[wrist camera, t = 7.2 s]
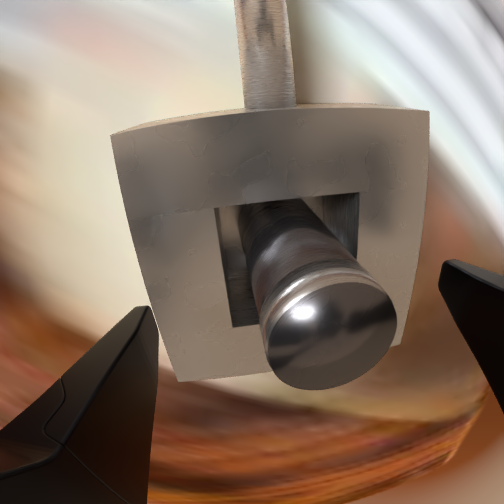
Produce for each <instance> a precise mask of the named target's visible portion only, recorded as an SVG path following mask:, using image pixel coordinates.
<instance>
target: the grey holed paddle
mask: <svg viewBox="0 0 504 504" xmlns="http://www.w3.org/2000/svg"><path fill="white" fill-rule="evenodd" d="M234 8H235V17H236V26H237V36H238V46H239V55H240V65H241V75H242V84H243V94H244V104H245V108H243V109H233V110H224V111H216V112H209V113H201V114H194V115H188V116H182V117H175V118H170V119H164V120H159V121H153V122H148V123H143V124H140V125H137V126H134V127H131V128H129V129H126V130H123V131H120V132H117V133H115V134H112V135H110V136H111V142H112V148H113V153H114V159H115V164H116V169H117V174H118V179H119V184H120V189H121V193H122V198H123V202H124V207H125V211H126V215H127V219H128V223H129V227H130V231H131V235H132V239H133V243H134V247H135V251H136V254H137V258H138V262H139V265H140V269H141V272H142V276H143V279H144V283H145V286H146V289H147V293H148V296H149V299H150V302H151V306H152V309H153V312H154V315H155V318H156V321H157V324H158V327H159V330H160V333H161V336H162V339H163V342H164V345H165V347H166V350H167V353H168V356H169V359H170V361H171V364H172V367H173V369H174V372H175V375H176V377H177V380H178V382H183V381H195V380H206V379H216V378H225V377H233V376H241V375H249V374H256V373H263V372H270V371H273V370H272V369H271V367H270V366H269V363H268V361H267V358H266V354H265V349H264V345H263V341H262V337H261V332H260V327H259V316H258V311H257V307H256V303H255V299H254V295H253V290H252V286H251V282H250V278H249V273H248V269H247V265H246V261H245V256H244V252H243V248H242V244H241V239H240V235H239V231H238V216H239V212H240V210H241V208H242V206H243V204H249V203H257V202H266V201H275V200H284V199H293V198H301V199H302V200H303V201H304V202H305V203H306V204H307V205H308V206H309V207H310V208H311V209H312V210H313V212H314V213H315V214H316V215H317V216H318V217H319V218H320V219H321V220H322V221H323V223H324V224H325V225H326V226H327V227H328V228H329V229H330V230H331V232H332V233H333V234H334V235H335V236H336V237H337V238H338V239H339V241H340V242H341V243H342V244H343V245H344V246H345V247H346V249H347V250H348V251H349V252H350V253H351V254H352V256H353V257H354V258H355V259H356V260H357V261H358V263H359V264H360V265H361V266H362V267H364V268H365V269H366V270H367V271H368V272H369V273H370V274H371V275H372V276H373V277H374V279H375V280H376V281H377V282H378V283H379V285H380V286H381V287H382V288H383V289H384V291H385V292H386V293H387V294H388V295H389V297H390V299H391V300H392V302H393V305H394V308H395V311H396V315H397V329H396V333H395V337H394V339H393V342H392V344H391V346H390V347H392V346H395V345H399V344H400V343H401V339H402V335H403V331H404V327H405V323H406V319H407V314H408V310H409V305H410V301H411V296H412V291H413V286H414V281H415V275H416V269H417V264H418V257H419V251H420V244H421V237H422V230H423V221H424V213H425V203H426V192H427V179H428V161H429V111H425V110H419V109H412V108H404V107H396V106H388V105H378V104H353V103H332V104H297V105H296V93H295V81H294V70H293V59H292V49H291V40H290V31H289V22H288V13H287V5H286V0H234Z"/></svg>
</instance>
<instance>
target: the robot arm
mask: <svg viewBox="0 0 504 504" xmlns="http://www.w3.org/2000/svg"><path fill="white" fill-rule="evenodd" d="M438 287H439V291H440V293H441V295H442V297H443V298H444V300H445V302H446V304H447V306H448V308H449V310H450V313H451V315H452V317H453V319H454V321H455V323H456V325H457V327H458V328H459V330H460V332H461V334H462V335H463V337H464V339H465V340H466V342H467V344H468V346H469V347H470V349H471V351H472V353H473V354H474V356H475V358H476V360H477V362H478V364H479V365H480V367H481V369H482V371H483V373H484V375H485V377H486V379H487V381H488V383H489V385H490V386H491V388H492V390H493V392H494V395H495V397H496V398H497V401H498V403H499V405H500V407H501V409H502V411H503V414H504V276H503V275H500V274H497V273H494V272H491V271H488V270H485V269H482V268H480V267H477V266H474V265H471V264H468V263H465V262H462V261H459V260H456V259H452V260H447V261H445V262H444V263H443V264H442V268H441V273H440V277H439V282H438ZM158 347H159V333H158V328H157V325H156V322H155V319H154V316H153V313H152V310H151V308H150V307H149V306H138V307H135V308H134V309H132V310H131V311H130V312H129V313H128V314H127V315H126V316H125V317H124V318H123V319H122V320H120V321H119V322H118V323H117V324H116V325H115V326H114V327H113V328H112V329H111V330H110V331H109V332H108V333H106V334H105V335H104V336H103V337H102V338H101V339H100V340H99V341H98V342H97V343H96V344H95V345H94V346H93V347H92V348H90V349H89V350H88V351H87V352H86V353H85V354H84V355H83V356H82V357H81V358H80V359H79V360H78V361H77V362H76V363H75V364H74V365H73V366H72V367H71V368H70V369H68V370H67V371H66V372H65V373H64V374H63V375H62V376H61V378H59V379H58V380H57V381H56V382H55V383H54V384H53V385H52V386H51V387H50V388H49V389H48V390H47V391H46V392H45V393H43V394H42V395H41V396H40V397H39V398H38V399H37V400H36V401H35V402H33V403H32V404H31V405H30V406H29V407H28V408H26V409H25V410H24V411H23V412H22V413H21V414H19V415H18V416H17V417H16V418H15V419H13V420H12V421H11V422H10V423H9V424H7V425H6V426H5V427H4V428H3V429H1V430H0V504H147V493H148V477H149V464H150V452H151V441H152V431H153V421H154V412H155V403H156V395H157V386H158Z"/></svg>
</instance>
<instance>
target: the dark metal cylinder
mask: <svg viewBox="0 0 504 504" xmlns="http://www.w3.org/2000/svg"><path fill="white" fill-rule="evenodd" d="M238 231H239V235H240V239H241V244H242V248H243V252H244V256H245V261H246V265H247V269H248V273H249V278H250V282H251V286H252V290H253V295H254V299H255V303H256V307H257V311H258V316H259V327H260V332H261V337H262V341H263V345H264V349H265V354H266V358H267V361H268V363H269V366H270V367H271V369H272V370H273V372H274V373H275V375H276V376H277V377H278V378H279V379H280V380H281V381H283V382H284V383H286V384H288V385H290V386H292V387H295V388H299V389H304V390H323V389H329V388H334V387H337V386H340V385H343V384H346V383H348V382H350V381H352V380H354V379H356V378H358V377H360V376H361V375H363V374H364V373H366V372H367V371H369V370H370V369H371V368H372V367H373V366H375V365H376V364H377V363H378V362H379V361H380V359H381V358H382V357H383V356H384V355H385V353H386V352H387V351H388V349H389V347H390V346H391V344H392V342H393V339H394V337H395V333H396V329H397V315H396V311H395V308H394V305H393V302H392V300H391V299H390V297H389V295H388V294H387V293H386V292H385V291H384V289H383V288H382V287H381V286H380V285H379V283H378V282H377V281H376V280H375V279H374V277H373V276H372V275H371V274H370V273H369V272H368V271H367V270H366V269H365V268H364V267H362V266H361V265H360V264H359V263H358V261H357V260H356V259H355V258H354V257H353V256H352V254H351V253H350V252H349V251H348V250H347V249H346V247H345V246H344V245H343V244H342V243H341V242H340V241H339V239H338V238H337V237H336V236H335V235H334V234H333V233H332V232H331V230H330V229H329V228H328V227H327V226H326V225H325V224H324V223H323V221H322V220H321V219H320V218H319V217H318V216H317V215H316V214H315V213H314V212H313V210H312V209H311V208H310V207H309V206H308V205H307V204H306V203H305V202H304V201H303V200H302V199H301V198H293V199H284V200H275V201H266V202H257V203H249V204H243V206H242V208H241V210H240V212H239V216H238Z"/></svg>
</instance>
